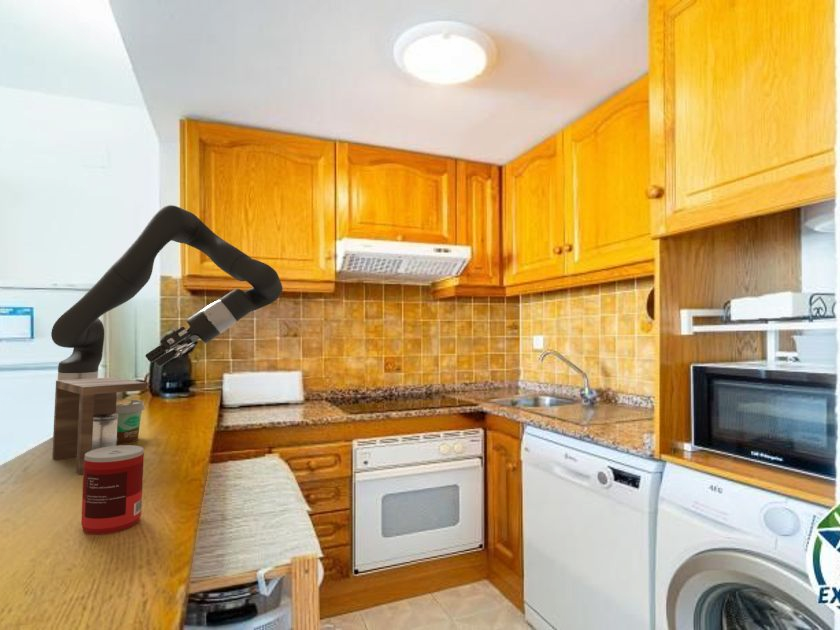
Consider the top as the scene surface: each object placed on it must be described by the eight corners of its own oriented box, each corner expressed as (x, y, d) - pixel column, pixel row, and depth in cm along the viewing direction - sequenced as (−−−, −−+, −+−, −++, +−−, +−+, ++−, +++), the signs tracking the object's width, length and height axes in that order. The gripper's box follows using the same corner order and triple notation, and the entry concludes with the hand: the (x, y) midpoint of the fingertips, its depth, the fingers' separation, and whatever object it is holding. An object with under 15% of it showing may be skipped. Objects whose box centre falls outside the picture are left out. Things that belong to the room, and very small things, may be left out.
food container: (124, 446, 118) (125, 406, 118) (100, 446, 118) (101, 406, 118) (153, 436, 130) (154, 399, 131) (131, 435, 130) (132, 399, 131)
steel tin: (85, 460, 105) (87, 415, 106) (111, 455, 109) (113, 412, 110) (93, 464, 102) (95, 418, 102) (119, 459, 106) (121, 415, 106)
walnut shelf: (52, 458, 106) (55, 380, 106) (112, 449, 115) (115, 377, 116) (79, 474, 95) (83, 387, 95) (143, 462, 104) (146, 382, 105)
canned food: (130, 510, 76) (132, 442, 77) (149, 523, 71) (152, 450, 72) (73, 524, 70) (76, 451, 71) (90, 540, 65) (94, 460, 66)
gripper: (206, 315, 125) (150, 353, 119) (198, 303, 111) (134, 344, 106) (224, 337, 125) (168, 376, 119) (218, 327, 111) (155, 370, 106)
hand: (152, 361), depth 112 cm, fingers open, 8 cm apart
